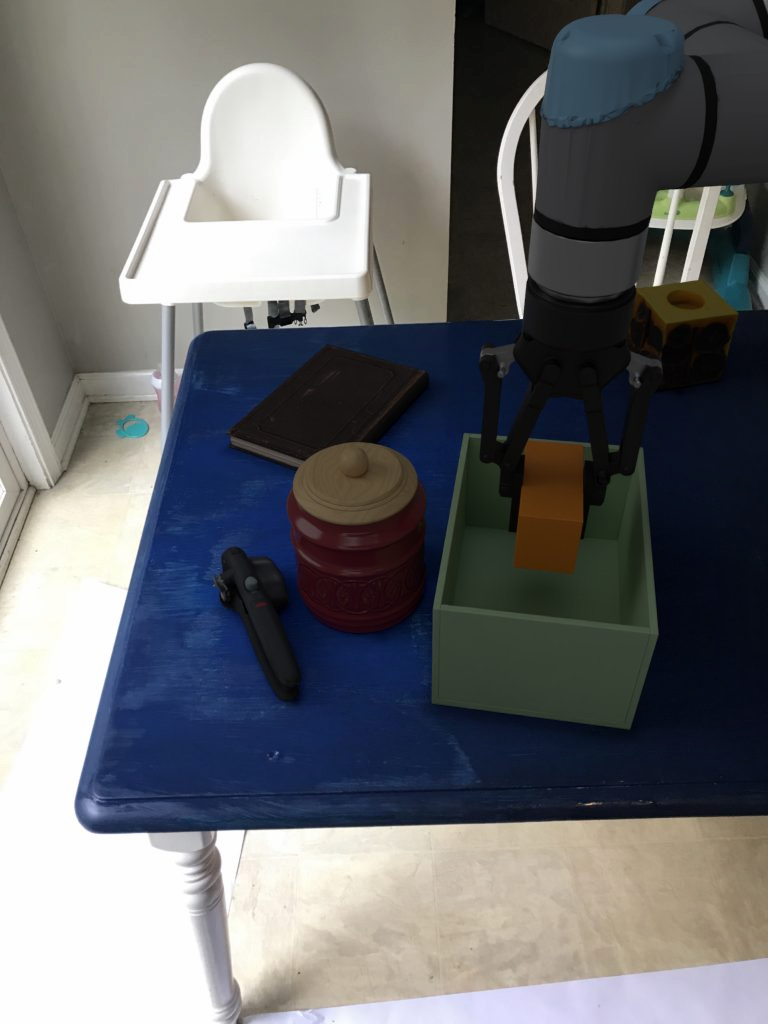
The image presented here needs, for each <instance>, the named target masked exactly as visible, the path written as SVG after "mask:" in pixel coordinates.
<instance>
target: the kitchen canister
mask: <svg viewBox="0 0 768 1024" xmlns="http://www.w3.org/2000/svg"><path fill="white" fill-rule="evenodd" d="M427 505H428V496H427V492H426V488H425V487H424V485H423V483H422V481H421V480H420V479H419V477H418V473H417V471H416V468H415V467H414V465H413V464H412V462H411V461H410V460H409V459H408V458H407V457H406V456H405V455H403V454H402V453H400V452H399V451H397V450H395V449H393V448H391V447H388V446H385V445H381V444H378V443H374V444H372V443H363V442H352V443H344V444H340V445H335V446H332V447H329V448H326V449H323V450H321V451H319V452H317V453H315V454H314V455H312V456H311V457H309V458H308V459H307V460H306V461H305V462H304V463H303V464H302V465H301V466H300V467H299V469H298V470H296V472H295V474H294V477H293V481H292V486H291V488H290V490H289V491H288V495H287V498H286V505H285V506H286V515H287V519H288V520H289V522H290V529H289V531H290V533H289V537H290V541H291V545H292V548H293V550H294V556H295V563H296V583H297V590H298V594H299V595H300V598H301V600H302V601H303V605H304V606H305V608H306V609H307V611H308V612H309V614H310V615H311V616H313V617H314V619H315V620H317V621H319V622H320V623H321V624H323V625H324V626H327V627H328V628H331V629H334V630H337V631H340V632H345V633H352V634H368V633H374V632H379V631H383V630H387V629H388V628H391V627H394V626H395V625H397V624H398V625H399V623H401V622H402V621H403V620H405V619H406V618H408V617H409V616H410V615H412V613H413V612H414V611H415V610H416V608H417V607H418V606H419V604H420V602H421V600H422V597H423V594H424V591H425V588H426V583H427V564H426V561H425V559H426V558H425V557H426V556H425V555H426V551H425V550H426V548H425V547H426V546H425V545H426V535H427V527H428V526H427V520H426V516H425V513H426V510H427V507H428V506H427Z"/></svg>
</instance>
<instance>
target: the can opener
mask: <svg viewBox="0 0 768 1024" xmlns="http://www.w3.org/2000/svg"><path fill="white" fill-rule="evenodd" d="M220 560H221V561H220V563H221V571H222V573H220V572H218V573H217V577H216V576H215V575H213V576H212V579H213V582H214V584H213V585H212V587H213V588H214V587H215V588H216V589H217V590H218V591H219V593H218V599H219V602H220V604H221V606H223V607H224V608H226V610H227V609H228V610H230V611H233V612H235V613H237V615H238V616H239V618H240V619H241V622H242V623H243V627H244V628H245V631H246V633H247V636H248V639H249V641H250V644H251V646H252V649H253V651H254V653H255V656H256V658H257V661H258V663H259V665H260V667H261V670H262V672H263V674H264V676H265V678H266V680H267V682H268V684H269V686H270V687H271V689H272V691H273V692H274V694H275V696H276V697H277V699H278V700H280V701H282V702H287V703H289V702H293V701H295V700H296V699H297V698H298V697H299V696H300V695H299V694H300V690H299V689H300V688H299V684H300V682H301V680H302V672H301V669H300V665H299V663H298V660H297V658H296V654H295V652H294V649H293V647H292V645H291V642H290V639H289V637H288V634H287V632H286V630H285V627H284V624H283V623H282V621H281V619H280V617H279V614H278V612H277V610H279V609H282V608H284V607H286V606H288V605H289V601H290V599H289V591H288V587H287V583H286V581H285V578H284V576H283V574H282V572H281V571H280V569H279V567H278V566H277V564H276V563H275V562H274V561H273V559H271V558H270V557H269V556H268V555H261V556H259V555H258V556H248V555H247V553H246V552H245V550H244V549H242V548H241V547H238V546H230V547H228V548H227V549H225V550H224V551H223V552H222V553H221V556H220Z"/></svg>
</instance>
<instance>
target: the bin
mask: <svg viewBox="0 0 768 1024" xmlns="http://www.w3.org/2000/svg"><path fill="white" fill-rule="evenodd" d="M507 437H508V435H507V436H506V435H497V440H496V441H499V442H502V443H504V441H506V439H507ZM528 440H531V441H543V442H554V443H566V444H578V445H583V446H584V455H583V468H584V463H585V460H590V461H593V458H592V451H591V445H590V442H583V441H582V442H580V441H568V440H555V439H543V438H532V437H531V438H530V437H529V439H528ZM480 443H481V433H471V432H470V433H468V432H464V433H463V436H462V442H461V447H460V454H459V459H458V464H457V470H456V476H455V480H454V487H453V493H452V498H451V503H450V509H449V515H448V521H447V527H446V532H445V538H444V543H443V550H442V554H441V560H440V566H439V571H438V576H437V577H438V578H437V583H436V588H435V594H434V600H433V606H432V639H431V640H432V644H431V645H432V646H431V647H432V648H431V655H432V656H431V704H433V705H441V706H448V707H456V708H463V709H464V708H465V709H469V710H478V711H486V712H494V713H501V714H508V715H517V716H524V717H530V718H531V717H532V718H540V719H546V720H555V721H562V722H570V723H577V724H585V725H592V726H601V727H608V728H615V729H622V730H631V728H632V725H633V721H634V718H635V715H636V711H637V708H638V704H639V701H640V698H641V695H642V691H643V688H644V684H645V681H646V678H647V675H648V671H649V668H650V664H651V662H652V658H653V654H654V651H655V648H656V645H657V641H658V638H659V636H660V635H659V634H660V633H659V625H658V624H659V622H658V609H657V600H656V586H655V575H654V561H653V550H652V537H651V526H650V525H651V524H650V516H649V503H648V490H647V479H646V467H645V454H644V447H642V446H640V449H639V454H638V459H637V463H636V468H635V472H634V473H633V474H632V475H630V476H623V475H622V474H615V475H613V476H611V481H610V483H609V484H608V485H607V490H606V495H605V500H604V503H603V504H602V505H601V506H593V505H590V508H589V513H588V519H587V524H586V529H585V534H584V540H583V539H580V542H579V548H578V553H577V559H576V564H575V569H574V574H568V573H559V572H550V571H541V570H532V569H522V568H514V567H513V566H514V555H515V544H516V533H515V532H508V531H509V520H510V510H511V501H512V498H507V497H500V494H499V482H500V467H499V466H498V465H497V464H495V463H489V464H485V463H483V462H481V461H480V458H479V455H480ZM608 445H609V453H610V452H616V451H619V445H620V444H618V445H616V444H608ZM524 452H525V448H524V450H523V452H522V455H524Z"/></svg>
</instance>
